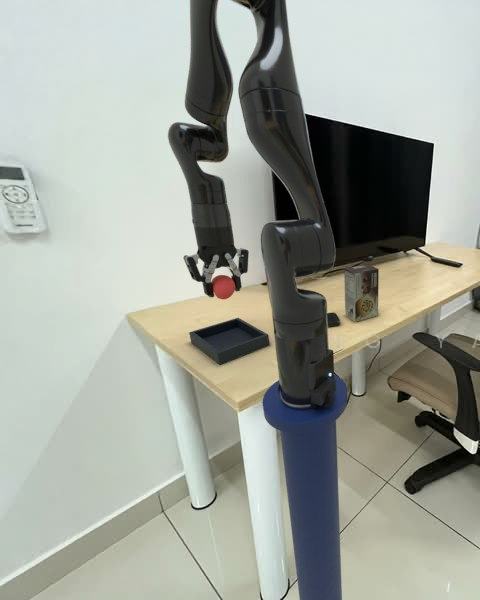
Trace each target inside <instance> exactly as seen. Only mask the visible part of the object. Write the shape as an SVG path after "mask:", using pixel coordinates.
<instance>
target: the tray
mask: <svg viewBox="0 0 480 600" xmlns="http://www.w3.org/2000/svg"><path fill="white" fill-rule="evenodd" d="M188 334H189V338H190V343H191V344H192V345H194V347H196V348H197V349H199V350H200V351H201V352H202V353H204V354H205V355H206V356H208V357H209V358H210V359H211V360H212V361H214V362H215V363H217V364H218V365H219V366H221V365H224V364H226V363H228V362H231V361H233V360H236V359H238V358H241V357H244V356H246V355H249V354H251V353H253V352H256V351H259V350H261V349H263V348H267V347H268V346H269V347H270V346H271V344H270V335H269V334H268V333H267V332H266V331H263V330H261V329H259V328H258V327H256V326H254V325H252V324H250V323H248V322H247V321H245V320H243V319H242V318H240V317H235V318H232V319H229V320H226V321H222V322H219V323H215V324H212V325H209V326H206V327H201V328H199V329H196V330H192V331H189V332H188Z"/></svg>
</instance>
